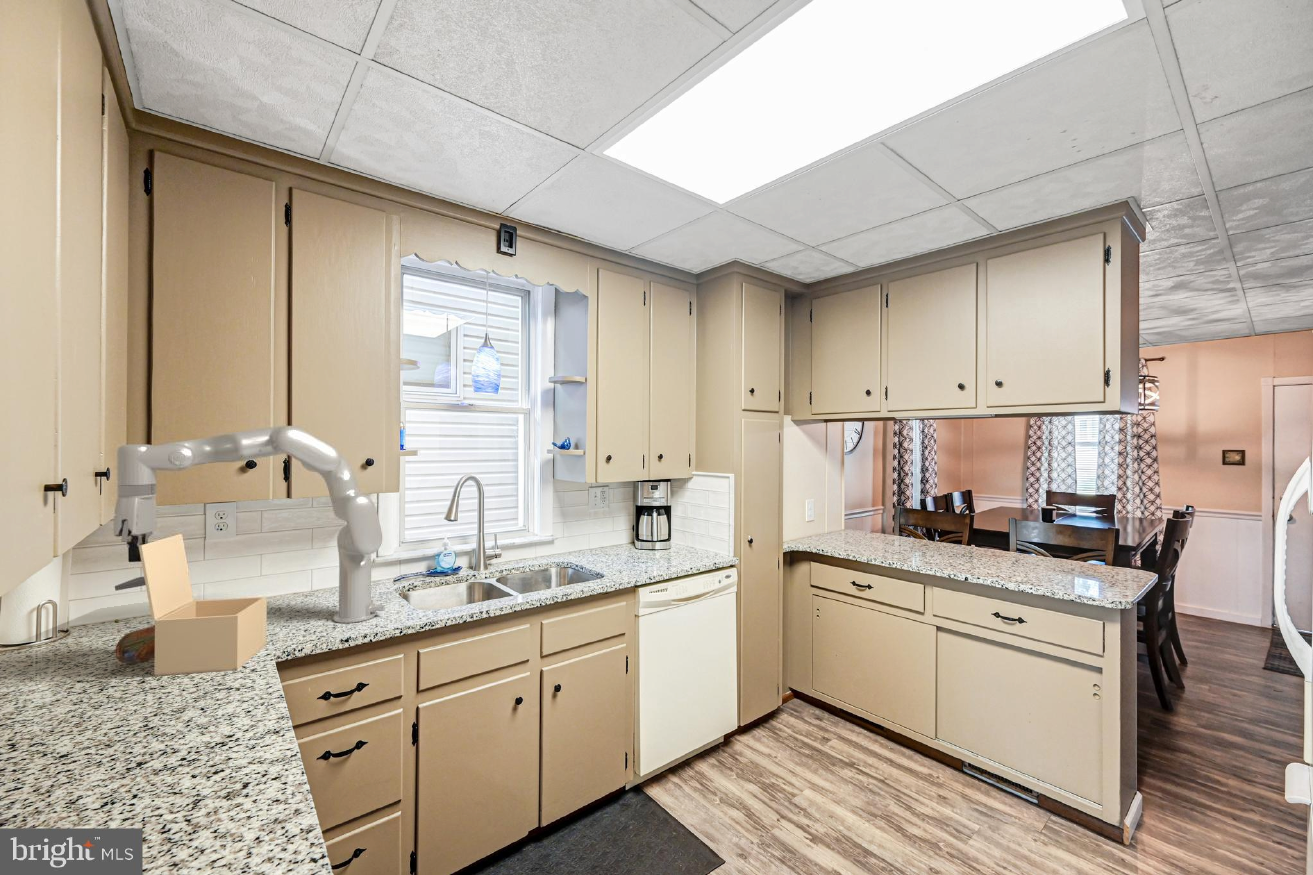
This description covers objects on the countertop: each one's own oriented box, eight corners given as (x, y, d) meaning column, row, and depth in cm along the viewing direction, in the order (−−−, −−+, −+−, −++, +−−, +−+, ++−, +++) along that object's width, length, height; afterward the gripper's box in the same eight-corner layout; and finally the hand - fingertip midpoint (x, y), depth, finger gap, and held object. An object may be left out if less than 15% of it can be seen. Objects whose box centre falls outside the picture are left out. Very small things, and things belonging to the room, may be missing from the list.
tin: (122, 669, 147) (122, 636, 147) (112, 668, 147) (112, 635, 147) (181, 648, 161) (181, 618, 161) (172, 647, 162) (172, 617, 162)
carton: (266, 645, 164) (266, 596, 164) (237, 669, 147) (237, 615, 147) (193, 650, 160) (193, 600, 160) (154, 676, 142) (155, 620, 142)
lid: (181, 533, 159) (141, 540, 157) (141, 545, 141) (95, 553, 139) (193, 599, 160) (153, 607, 157) (155, 619, 142) (109, 628, 140)
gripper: (138, 489, 155) (138, 556, 155) (99, 494, 141) (100, 568, 141) (170, 488, 157) (171, 554, 157) (136, 494, 142) (136, 566, 143)
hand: (137, 561), depth 149 cm, fingers closed
